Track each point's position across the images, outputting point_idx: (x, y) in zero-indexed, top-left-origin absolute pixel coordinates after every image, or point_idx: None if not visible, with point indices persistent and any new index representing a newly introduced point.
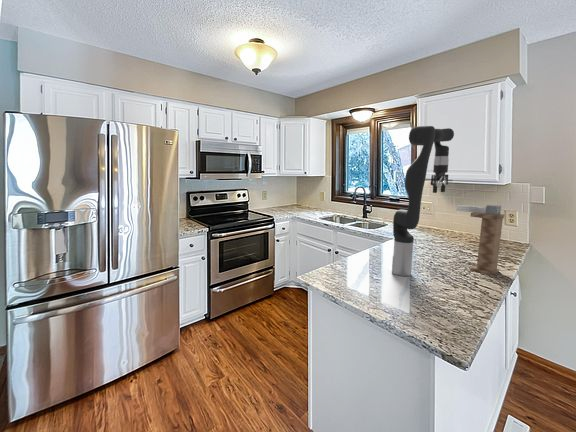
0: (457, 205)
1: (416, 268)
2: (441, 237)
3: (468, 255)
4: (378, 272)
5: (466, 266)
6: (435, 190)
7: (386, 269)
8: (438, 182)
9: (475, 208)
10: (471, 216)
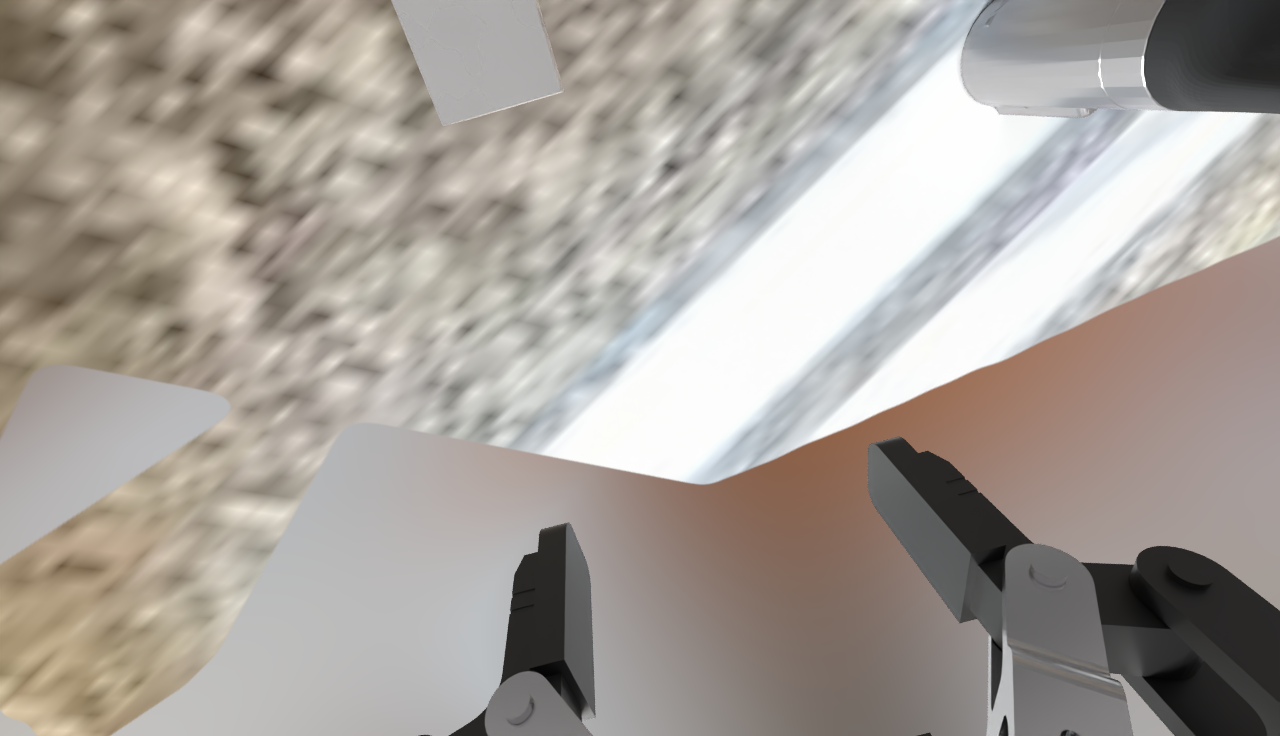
0: (556, 78)
1: (855, 95)
2: (177, 577)
3: (293, 212)
4: None
5: None
6: (943, 474)
7: (1009, 142)
8: (1078, 666)
9: None
10: None
